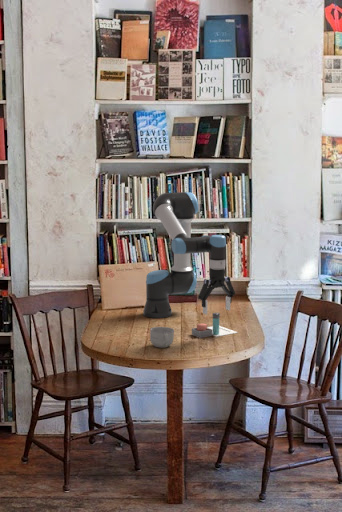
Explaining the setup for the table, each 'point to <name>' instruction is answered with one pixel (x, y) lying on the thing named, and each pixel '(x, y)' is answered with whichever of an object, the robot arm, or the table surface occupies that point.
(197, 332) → the button housing
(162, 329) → the teacup
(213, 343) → the table surface
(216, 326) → the marker
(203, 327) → the button
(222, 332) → the paper
